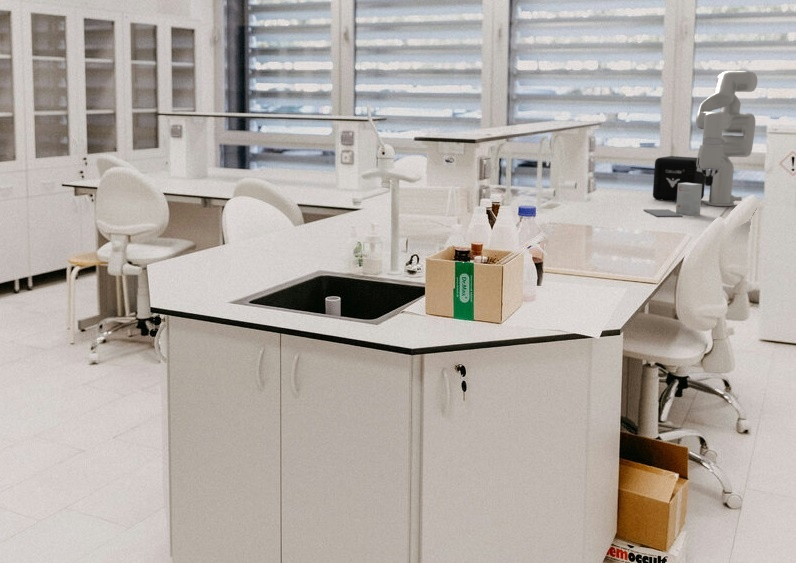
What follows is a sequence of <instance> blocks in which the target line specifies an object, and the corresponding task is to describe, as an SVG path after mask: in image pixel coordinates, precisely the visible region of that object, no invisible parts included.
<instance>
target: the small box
mask: <svg viewBox="0 0 796 563" xmlns="http://www.w3.org/2000/svg"><path fill="white" fill-rule="evenodd" d="M701 193H702V184H695V183H678V190H677V202H676V207H675V209H676V210H675V212H676V213H678V214H680V215H686V216H687V215H688V216H696V215H701V204H702V199H701Z"/></svg>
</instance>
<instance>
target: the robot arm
mask: <svg viewBox="0 0 796 563" xmlns="http://www.w3.org/2000/svg"><path fill="white" fill-rule="evenodd" d="M757 85H758V76H757V74H756V73H755V72H753V71H748V70H726V71H723V72H721V73H720V74H719V75H717V78H716V86H715V89H714V93H713V94H712V95H710V96H709V97H707V98H705V100H703V101H702V102H701V103H700V105H699V107H698V110H697V113H696V116H695V117H696V119H695V125H696V127H697V128H698V129H700V130H703V132H702V133H703V134H702V144H700V145H699V149H698V152H697V157H696V158H697V164H696V166H697V171H699V172H702V173H703V174H704V176H705V181H704V183H705V187H706V186H707V187H709V196H708V197H709V198H708V200H706V201H705V202H704V204H705V205H707V204H708V206H713V207H716V206H717V207H732V206H735V201H737V202H742V200H743V197H742V196H735V195H733V194H732V192H733V183H734V182H733V180H734V169H735V168H734V163H733V162H732V160H731V159H730V158H747V157H750V156H751V154H752V150H753V145H754V138H755V131H756V117H755V115H754V114H753V113H749V112H740V111H741V100H740V99H739V97H737V95H736V92H738V93H739V92H742V93H748V92H749V93H750V92H751V93H752V92H754V91H755V90H756V88H757ZM715 110H719V111H715ZM723 134H724V135H723ZM727 134H728V135H727ZM701 168H702V169H701ZM703 169H704V170H703ZM709 170H710V171H709Z"/></svg>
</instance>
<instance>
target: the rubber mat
mask: <svg viewBox="0 0 796 563" xmlns="http://www.w3.org/2000/svg"><path fill="white" fill-rule="evenodd" d="M643 212H645V213H648V214H649V215H651V216H654V217H656V218H683V215H684V214H678V213H676V211H673V210H670V209H668V208H667V209H665V208H664V209H663V208H662V209H659V208H658V209H657V208H655V209H652V208H651V209H650V208H649V209H643Z"/></svg>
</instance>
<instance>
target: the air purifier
mask: <svg viewBox="0 0 796 563" xmlns="http://www.w3.org/2000/svg"><path fill="white" fill-rule="evenodd" d="M696 164H697V157H691V156H690V157H689V156H677V155H676V156H675V155H674V156H673V155H668V156H663V157H658V158H656V159H655V161H654V170H653V171H654V172H653V188H652V197H653V198H654V200H657V201H667V202H676V201H677V190H678V183H695V184H702V193H701V200H702V199H703V198H704V196H705V187H706V185H705V183H704V181H705V176H704V174H703V173H702V172H699V171H697V166H696ZM701 169H702V168H701ZM703 170H704V169H703Z"/></svg>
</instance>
